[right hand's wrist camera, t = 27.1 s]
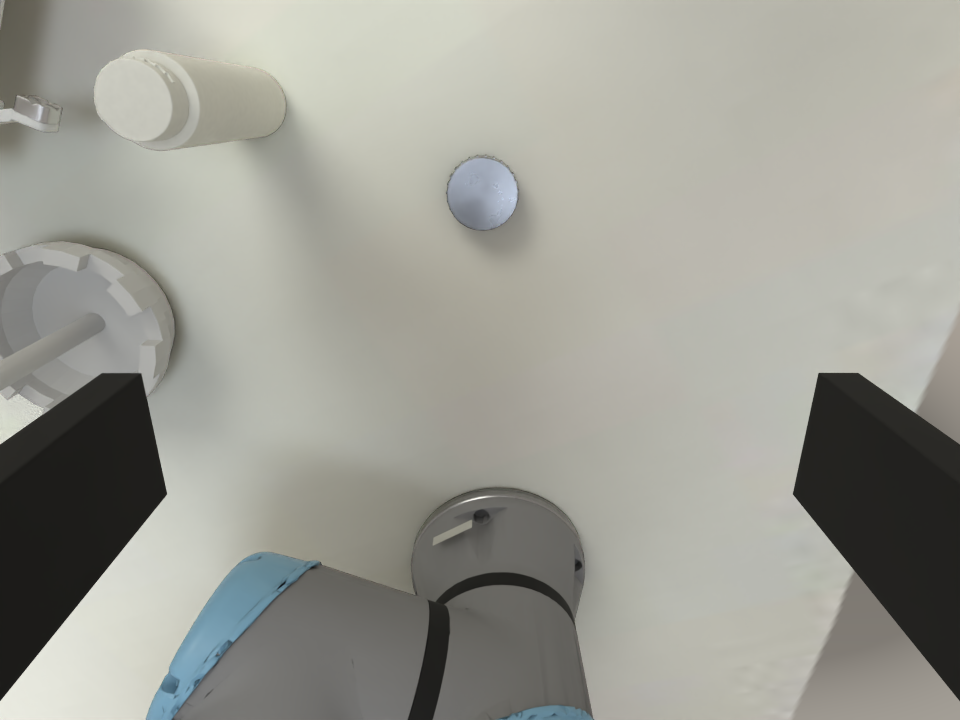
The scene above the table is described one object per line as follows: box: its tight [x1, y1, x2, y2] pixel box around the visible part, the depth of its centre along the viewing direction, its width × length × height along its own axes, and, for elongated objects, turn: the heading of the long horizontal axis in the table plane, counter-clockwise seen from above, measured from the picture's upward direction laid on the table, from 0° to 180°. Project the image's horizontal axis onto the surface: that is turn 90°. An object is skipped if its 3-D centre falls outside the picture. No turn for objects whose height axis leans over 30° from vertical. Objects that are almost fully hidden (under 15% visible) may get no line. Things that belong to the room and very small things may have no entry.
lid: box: [446, 155, 519, 231], centre depth 45 cm, size 5×5×2 cm
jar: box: [93, 49, 286, 151], centre depth 36 cm, size 4×4×16 cm
